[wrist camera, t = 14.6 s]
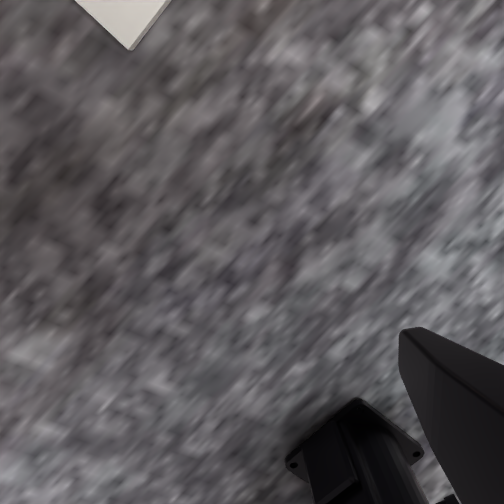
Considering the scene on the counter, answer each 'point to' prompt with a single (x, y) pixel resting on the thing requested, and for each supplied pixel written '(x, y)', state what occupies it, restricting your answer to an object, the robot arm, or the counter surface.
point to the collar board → (125, 17)
